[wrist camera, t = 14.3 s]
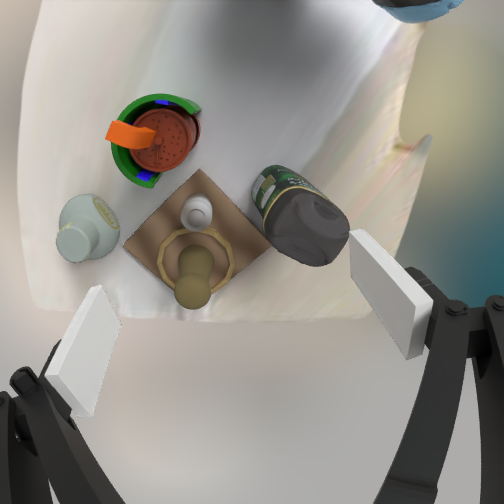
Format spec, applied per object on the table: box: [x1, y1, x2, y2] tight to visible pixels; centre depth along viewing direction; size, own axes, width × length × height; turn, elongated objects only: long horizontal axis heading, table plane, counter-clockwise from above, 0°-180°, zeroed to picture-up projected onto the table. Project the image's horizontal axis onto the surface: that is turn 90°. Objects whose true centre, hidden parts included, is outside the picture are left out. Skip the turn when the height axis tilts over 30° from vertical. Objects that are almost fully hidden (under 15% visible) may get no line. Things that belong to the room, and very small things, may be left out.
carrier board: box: [123, 169, 272, 294], centre depth 49 cm, size 18×17×8 cm
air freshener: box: [56, 194, 120, 263], centre depth 44 cm, size 11×8×10 cm
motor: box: [105, 94, 202, 188], centre depth 35 cm, size 10×9×20 cm
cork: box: [174, 245, 214, 310], centre depth 47 cm, size 6×6×11 cm
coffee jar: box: [252, 165, 350, 267], centre depth 42 cm, size 10×8×19 cm
